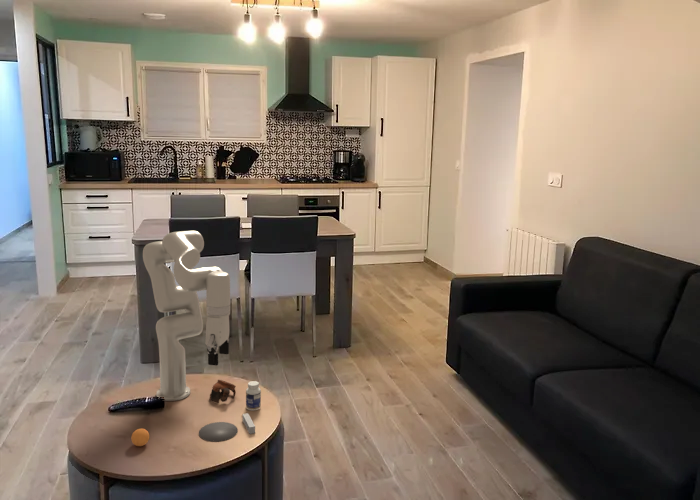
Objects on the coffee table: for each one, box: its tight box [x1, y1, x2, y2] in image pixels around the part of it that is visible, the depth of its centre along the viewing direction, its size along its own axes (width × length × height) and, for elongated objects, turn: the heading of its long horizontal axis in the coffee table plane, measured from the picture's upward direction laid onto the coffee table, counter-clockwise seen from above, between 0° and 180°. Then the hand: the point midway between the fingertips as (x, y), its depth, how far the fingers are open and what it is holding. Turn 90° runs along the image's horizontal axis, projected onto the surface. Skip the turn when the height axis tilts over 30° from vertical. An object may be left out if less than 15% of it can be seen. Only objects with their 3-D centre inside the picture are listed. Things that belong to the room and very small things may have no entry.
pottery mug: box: [209, 379, 237, 404], centre depth 220 cm, size 12×10×8 cm
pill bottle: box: [245, 380, 262, 411], centre depth 213 cm, size 5×5×10 cm
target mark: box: [198, 421, 239, 443], centre depth 196 cm, size 13×13×1 cm
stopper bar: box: [242, 412, 256, 435], centre depth 200 cm, size 10×2×2 cm, turn 24°
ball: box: [130, 427, 150, 447], centre depth 186 cm, size 6×6×6 cm
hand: (218, 359), depth 190 cm, fingers open, 9 cm apart
